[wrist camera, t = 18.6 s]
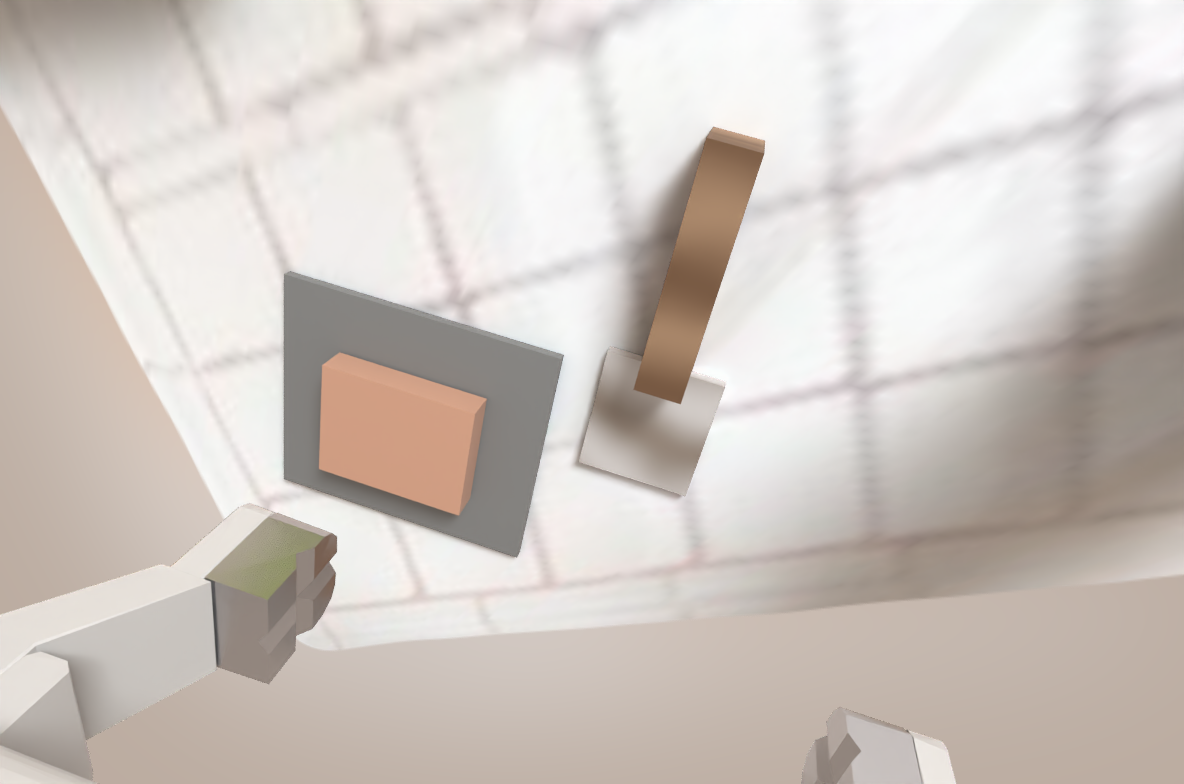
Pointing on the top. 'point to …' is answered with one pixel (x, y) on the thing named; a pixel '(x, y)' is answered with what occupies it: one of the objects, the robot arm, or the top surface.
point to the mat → (439, 354)
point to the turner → (676, 335)
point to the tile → (399, 432)
